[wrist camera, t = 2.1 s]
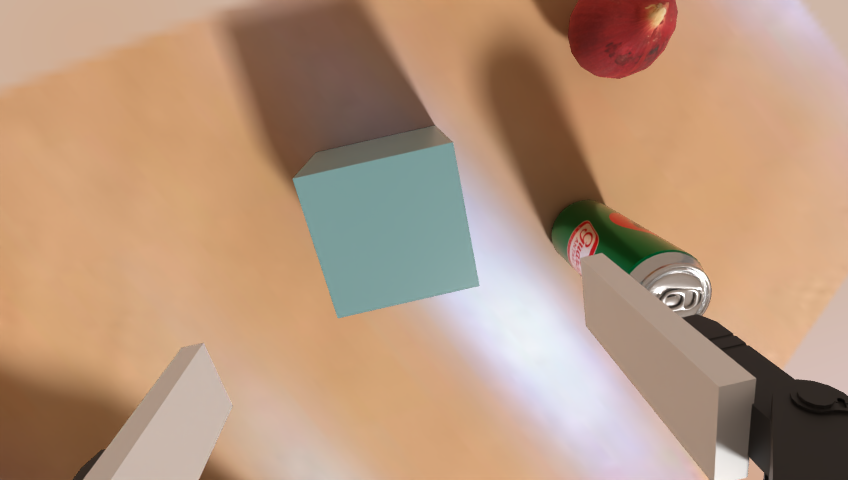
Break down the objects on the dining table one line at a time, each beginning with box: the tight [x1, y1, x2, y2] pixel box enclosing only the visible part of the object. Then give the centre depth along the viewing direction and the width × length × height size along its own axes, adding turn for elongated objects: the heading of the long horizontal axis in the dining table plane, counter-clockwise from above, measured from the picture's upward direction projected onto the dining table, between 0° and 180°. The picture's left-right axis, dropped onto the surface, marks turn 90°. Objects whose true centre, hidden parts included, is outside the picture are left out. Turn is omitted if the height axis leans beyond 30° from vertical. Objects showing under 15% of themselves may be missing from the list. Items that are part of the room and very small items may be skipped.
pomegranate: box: [568, 0, 678, 79], centre depth 26 cm, size 6×6×8 cm
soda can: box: [552, 200, 712, 317], centre depth 29 cm, size 5×5×12 cm
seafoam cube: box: [293, 125, 479, 318], centre depth 28 cm, size 9×9×9 cm
